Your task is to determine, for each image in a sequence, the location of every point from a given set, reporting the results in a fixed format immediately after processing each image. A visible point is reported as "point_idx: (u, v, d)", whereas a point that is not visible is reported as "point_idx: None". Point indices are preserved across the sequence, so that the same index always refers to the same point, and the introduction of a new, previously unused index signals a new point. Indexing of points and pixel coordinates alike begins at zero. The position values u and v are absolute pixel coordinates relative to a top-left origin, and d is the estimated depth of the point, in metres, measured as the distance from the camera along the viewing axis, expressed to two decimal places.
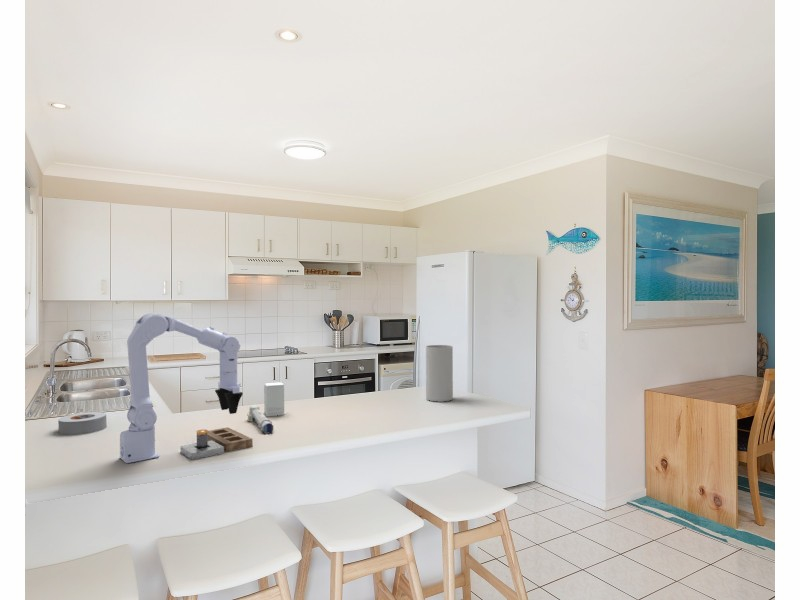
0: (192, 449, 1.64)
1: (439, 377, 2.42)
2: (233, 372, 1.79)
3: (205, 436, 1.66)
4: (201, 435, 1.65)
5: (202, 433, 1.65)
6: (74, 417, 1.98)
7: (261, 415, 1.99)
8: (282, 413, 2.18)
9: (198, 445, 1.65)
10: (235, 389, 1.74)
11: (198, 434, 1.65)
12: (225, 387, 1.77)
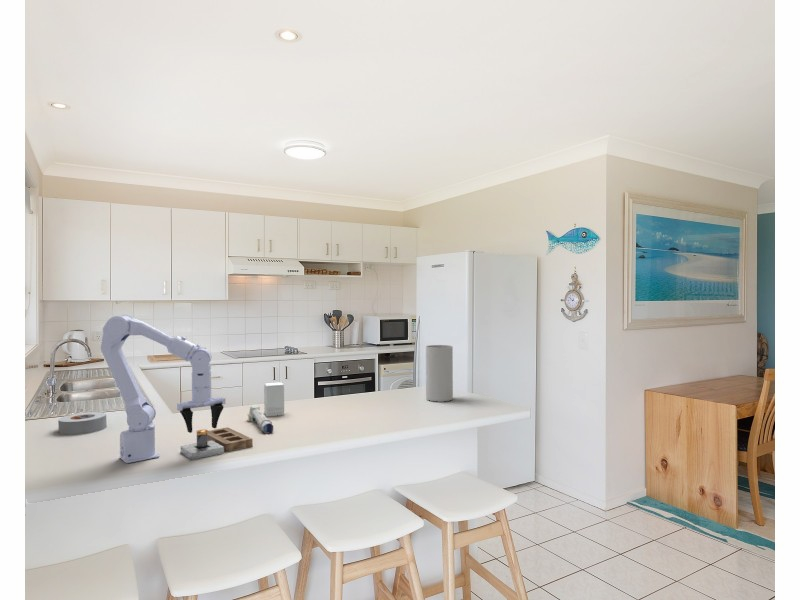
0: (192, 449, 1.64)
1: (439, 377, 2.42)
2: (193, 388, 1.64)
3: (205, 436, 1.66)
4: (201, 435, 1.65)
5: (202, 433, 1.65)
6: (74, 417, 1.98)
7: (261, 415, 1.99)
8: (282, 413, 2.18)
9: (198, 445, 1.65)
10: (177, 406, 1.62)
11: (198, 434, 1.65)
12: None
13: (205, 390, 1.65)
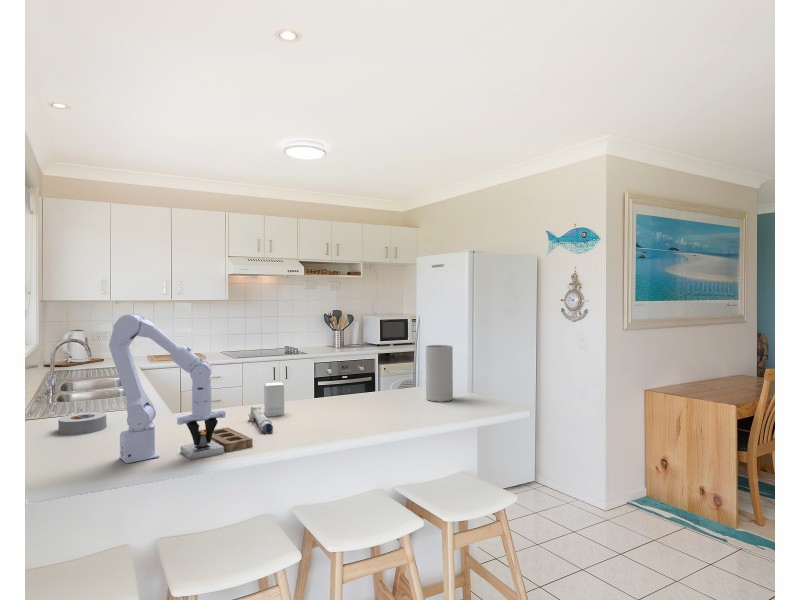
0: (192, 449, 1.64)
1: (439, 377, 2.42)
2: (193, 402, 1.64)
3: (205, 436, 1.66)
4: (201, 435, 1.65)
5: (202, 433, 1.65)
6: (74, 417, 1.98)
7: (261, 415, 1.99)
8: (282, 413, 2.18)
9: (198, 445, 1.65)
10: (177, 420, 1.62)
11: (198, 434, 1.65)
12: None
13: (205, 404, 1.65)
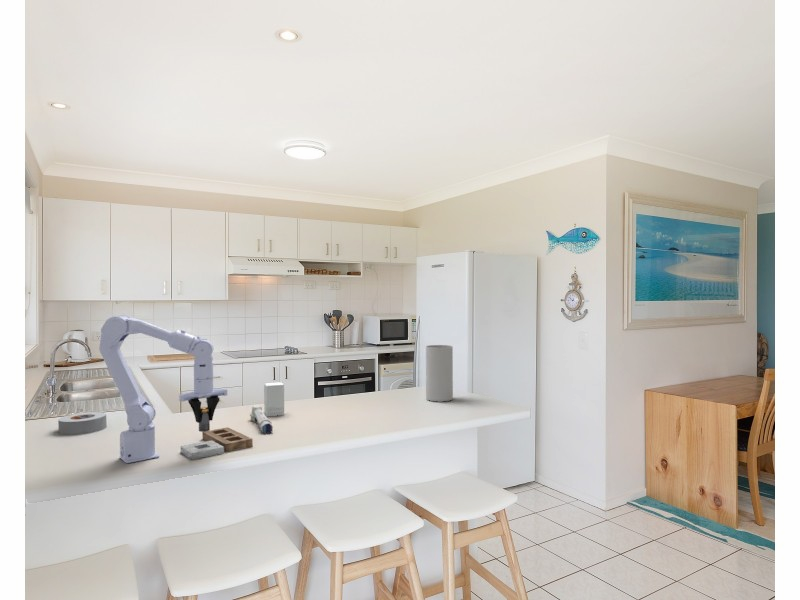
0: (192, 449, 1.64)
1: (439, 377, 2.42)
2: (195, 379, 1.65)
3: (207, 413, 1.66)
4: (203, 412, 1.66)
5: (204, 410, 1.66)
6: (74, 417, 1.98)
7: (262, 415, 1.99)
8: (282, 413, 2.18)
9: (200, 422, 1.66)
10: (179, 396, 1.63)
11: (200, 411, 1.66)
12: None
13: (207, 381, 1.65)
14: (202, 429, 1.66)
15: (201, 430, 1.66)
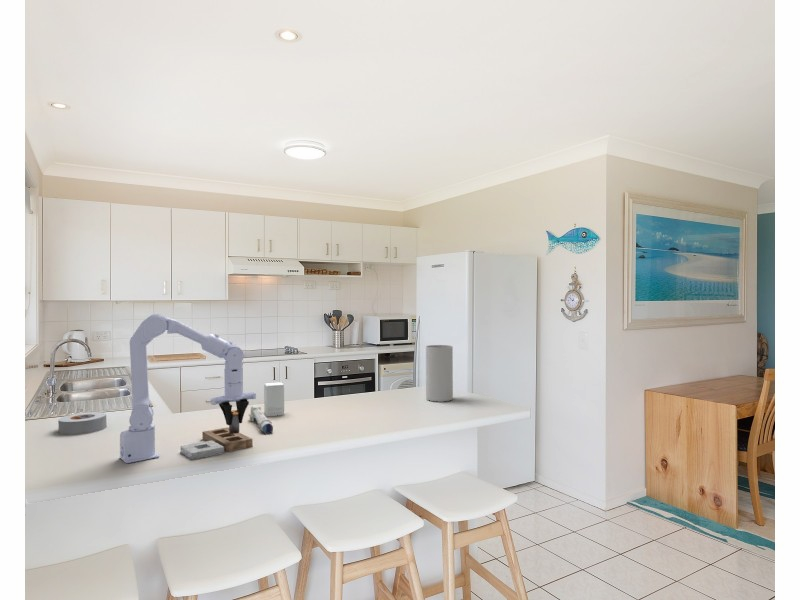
0: (192, 449, 1.64)
1: (439, 377, 2.42)
2: (226, 383, 1.71)
3: (237, 416, 1.73)
4: (233, 415, 1.72)
5: (234, 413, 1.72)
6: (74, 417, 1.98)
7: (261, 415, 1.99)
8: (282, 413, 2.18)
9: (230, 425, 1.72)
10: (211, 400, 1.69)
11: None
12: None
13: (237, 385, 1.71)
14: (232, 431, 1.72)
15: (231, 432, 1.72)
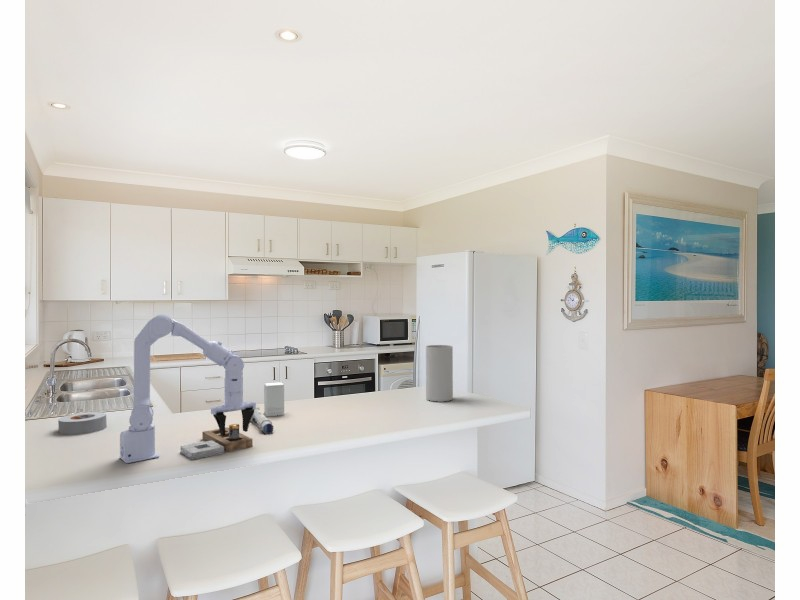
0: (192, 449, 1.64)
1: (439, 377, 2.42)
2: (226, 393, 1.71)
3: (237, 430, 1.73)
4: (233, 429, 1.72)
5: (234, 427, 1.72)
6: (74, 417, 1.98)
7: (261, 415, 1.98)
8: (282, 413, 2.18)
9: (230, 439, 1.72)
10: (211, 410, 1.69)
11: (230, 428, 1.72)
12: None
13: (237, 395, 1.72)
14: None
15: None
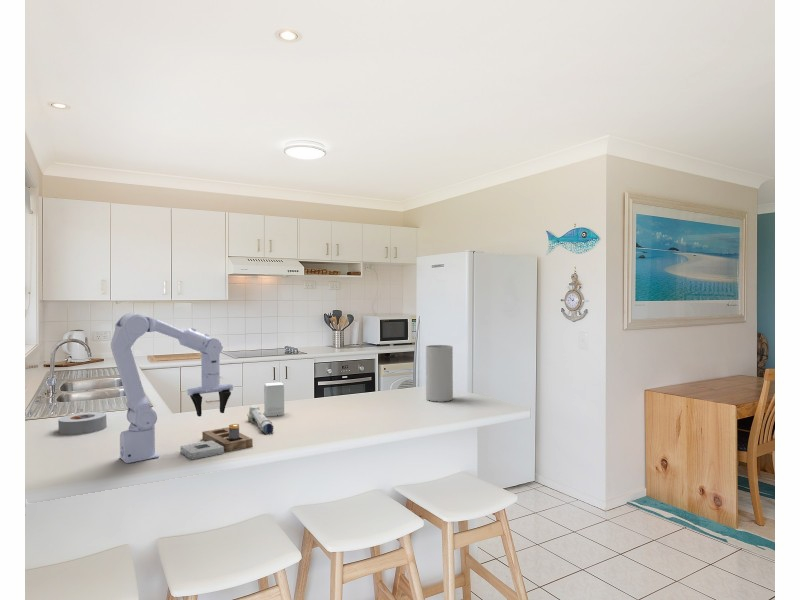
0: (192, 449, 1.64)
1: (439, 377, 2.42)
2: (203, 374, 1.75)
3: (237, 430, 1.73)
4: (233, 429, 1.72)
5: (234, 427, 1.72)
6: (74, 417, 1.98)
7: (261, 415, 1.98)
8: (282, 413, 2.18)
9: (230, 439, 1.72)
10: (188, 391, 1.73)
11: (230, 428, 1.72)
12: None
13: (214, 377, 1.75)
14: None
15: None
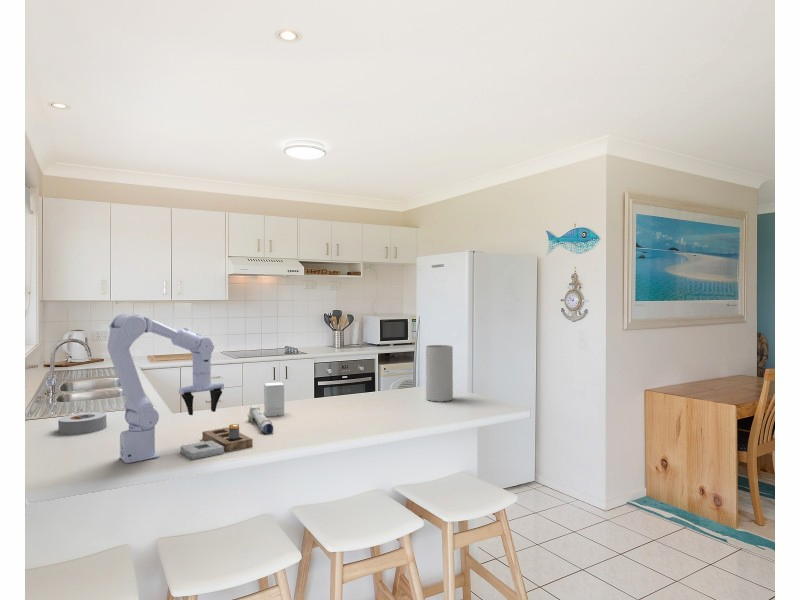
0: (192, 449, 1.64)
1: (439, 377, 2.42)
2: (194, 374, 1.76)
3: (237, 430, 1.73)
4: (233, 429, 1.72)
5: (234, 427, 1.72)
6: (74, 417, 1.98)
7: (261, 415, 1.98)
8: (282, 413, 2.18)
9: (230, 439, 1.72)
10: (179, 390, 1.74)
11: (230, 428, 1.72)
12: None
13: (205, 376, 1.77)
14: None
15: None
